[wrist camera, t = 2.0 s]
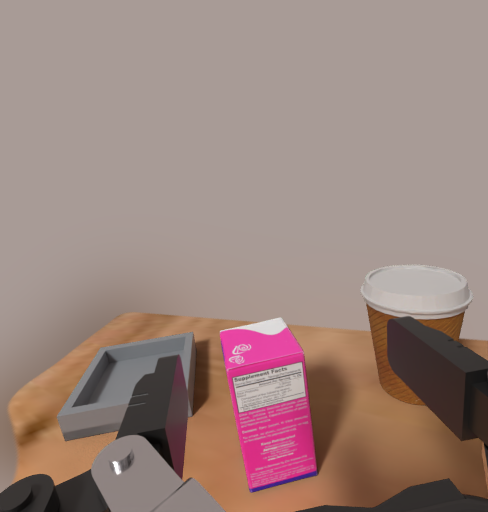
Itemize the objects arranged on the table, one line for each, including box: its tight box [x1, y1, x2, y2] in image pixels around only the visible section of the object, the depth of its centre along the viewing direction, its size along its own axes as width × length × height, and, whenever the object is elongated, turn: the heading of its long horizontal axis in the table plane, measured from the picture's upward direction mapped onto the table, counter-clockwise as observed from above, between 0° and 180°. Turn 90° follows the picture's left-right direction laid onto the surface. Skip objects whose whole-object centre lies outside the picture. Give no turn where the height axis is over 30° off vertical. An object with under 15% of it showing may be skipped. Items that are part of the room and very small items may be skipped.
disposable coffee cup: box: [361, 265, 473, 405], centre depth 31 cm, size 10×10×12 cm
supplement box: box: [220, 318, 318, 493], centre depth 25 cm, size 6×6×12 cm
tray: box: [57, 332, 197, 441], centre depth 38 cm, size 13×13×3 cm
